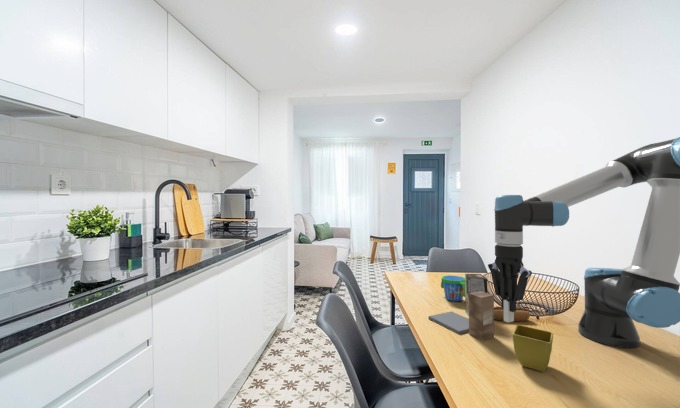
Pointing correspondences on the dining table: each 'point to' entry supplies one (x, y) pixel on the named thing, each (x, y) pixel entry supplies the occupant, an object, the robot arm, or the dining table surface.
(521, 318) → the food
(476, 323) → the walnut block
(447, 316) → the mat
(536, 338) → the flower pot
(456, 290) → the snack cup
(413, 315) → the dining table surface
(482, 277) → the coffee box
